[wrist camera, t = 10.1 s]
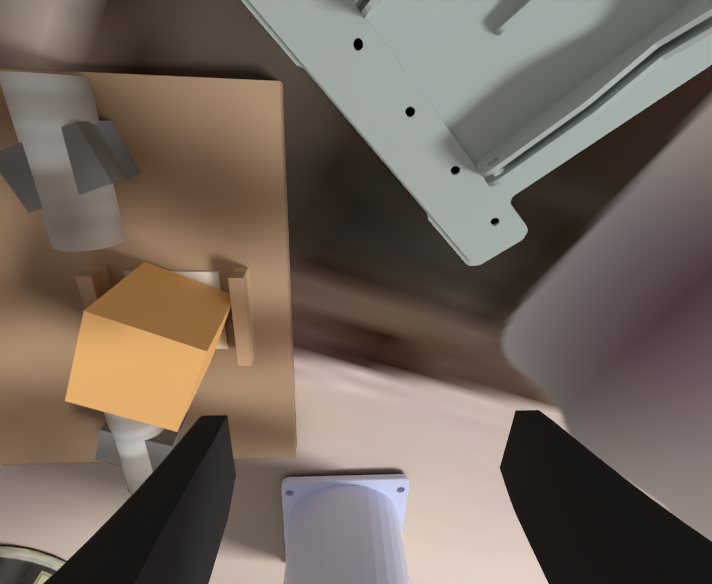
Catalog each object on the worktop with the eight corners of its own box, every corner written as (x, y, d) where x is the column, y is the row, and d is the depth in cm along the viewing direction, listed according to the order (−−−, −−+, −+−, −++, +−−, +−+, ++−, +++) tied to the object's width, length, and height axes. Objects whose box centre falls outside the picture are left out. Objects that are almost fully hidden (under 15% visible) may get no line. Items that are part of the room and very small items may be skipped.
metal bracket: (687, -847, 5) (886, 57, 11) (567, -453, 10) (747, 43, 15) (185, 9, 13) (453, 301, 18) (250, 9, 17) (448, 240, 22)
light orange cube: (236, 295, 17) (206, 351, 13) (210, 362, 19) (177, 431, 15) (144, 261, 16) (83, 310, 12) (125, 335, 18) (65, 400, 14)
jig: (296, 444, 23) (291, 495, 20) (-25, 450, 22) (-84, 507, 18) (282, 82, 15) (270, 75, 12) (-232, 59, 14) (-397, 43, 10)
